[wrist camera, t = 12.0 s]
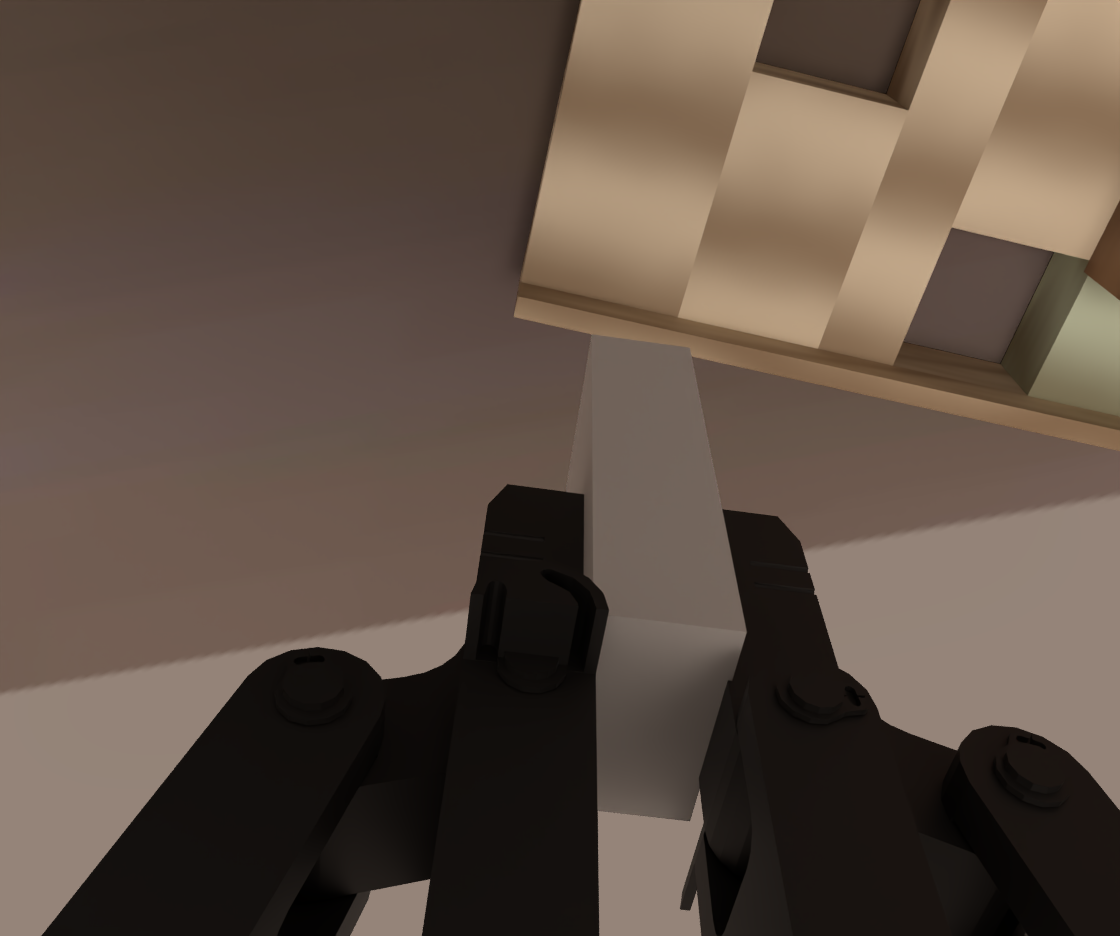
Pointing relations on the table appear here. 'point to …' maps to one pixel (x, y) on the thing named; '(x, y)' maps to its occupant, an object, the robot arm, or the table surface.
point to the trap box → (838, 200)
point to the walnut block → (1107, 257)
